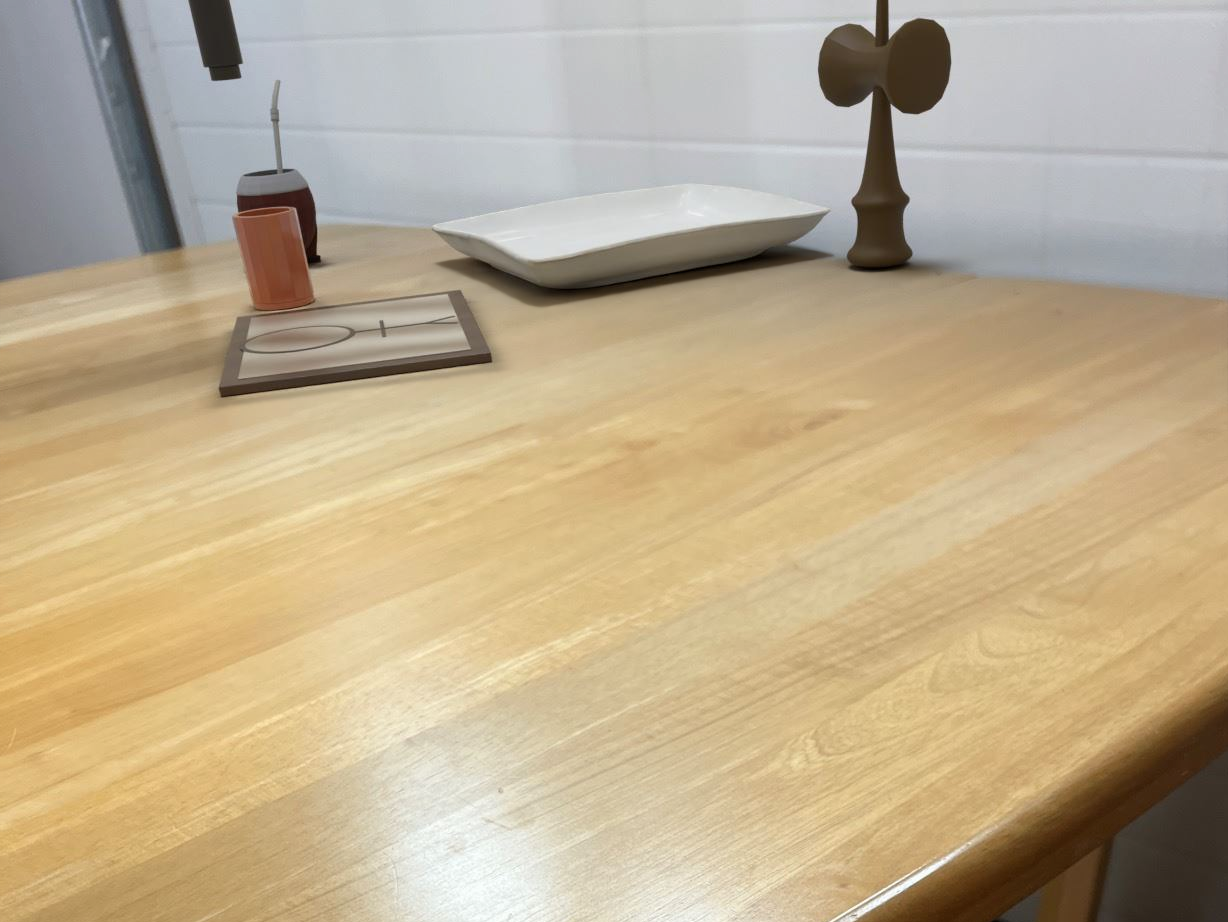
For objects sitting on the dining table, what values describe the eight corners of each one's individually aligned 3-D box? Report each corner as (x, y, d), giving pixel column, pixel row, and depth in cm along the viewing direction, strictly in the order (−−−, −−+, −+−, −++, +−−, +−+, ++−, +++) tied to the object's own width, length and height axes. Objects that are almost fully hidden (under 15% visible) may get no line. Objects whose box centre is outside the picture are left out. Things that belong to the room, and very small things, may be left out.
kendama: (887, 279, 103) (891, -37, 92) (813, 264, 110) (809, -31, 99) (947, 266, 106) (959, -44, 94) (872, 252, 113) (874, -38, 101)
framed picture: (492, 361, 91) (490, 350, 90) (220, 396, 88) (217, 385, 88) (461, 297, 110) (460, 288, 110) (238, 324, 108) (236, 315, 107)
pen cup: (277, 312, 111) (256, 218, 107) (241, 307, 114) (219, 216, 110) (327, 299, 114) (308, 207, 110) (290, 295, 117) (270, 205, 113)
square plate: (694, 220, 134) (691, 176, 131) (836, 255, 113) (836, 203, 111) (433, 262, 125) (426, 216, 123) (536, 307, 104) (529, 253, 102)
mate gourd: (263, 276, 126) (220, 90, 118) (242, 266, 132) (200, 88, 123) (339, 263, 129) (303, 81, 120) (315, 254, 135) (279, 79, 126)
